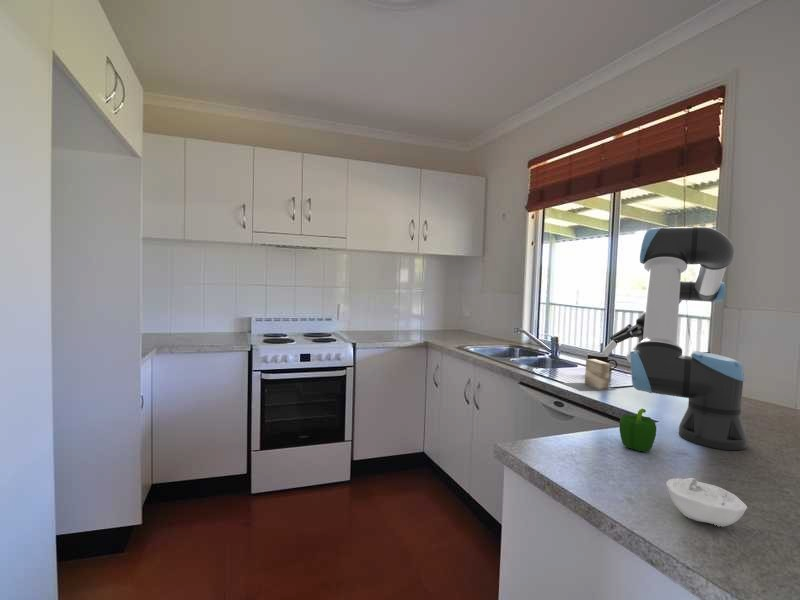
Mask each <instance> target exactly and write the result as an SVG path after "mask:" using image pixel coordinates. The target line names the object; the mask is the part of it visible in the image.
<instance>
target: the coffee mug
mask: <svg viewBox="0 0 800 600" xmlns="http://www.w3.org/2000/svg"><path fill="white" fill-rule="evenodd" d="M586 355H587V359H596V360H600V361H603V362H606V363H609V364H610V362H614V363H615V366H614V367H613V368H609V372H611V371H613V370H614V369H616V368H617V367H618V362H617V360H615V359H609V354H608V355H607V356H606V355H605V354H604V353H597V352H590V353H587V354H586Z"/></svg>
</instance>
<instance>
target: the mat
mask: <svg viewBox="0 0 800 600" xmlns="http://www.w3.org/2000/svg"><path fill="white" fill-rule="evenodd" d="M562 385H565V386H568V387H570V388H572V389H575V390H576V391H579V392H592V391H593V392H595V391H597V392H599V391H616V389H615V388H612V387H610V386H608V389H597V388H595V387H592V386H590V385H588V384H585V382H562Z"/></svg>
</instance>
